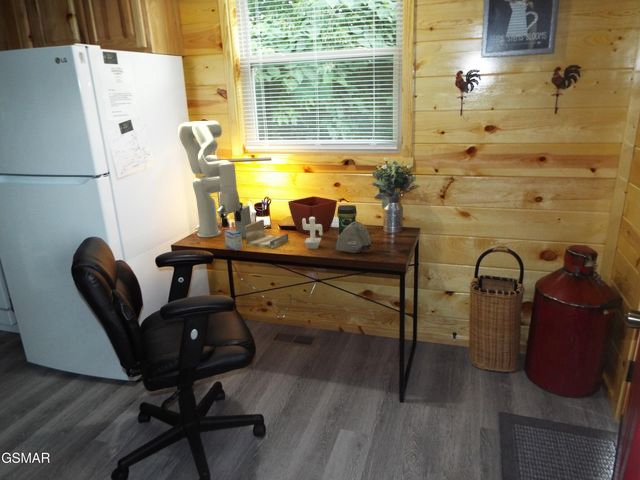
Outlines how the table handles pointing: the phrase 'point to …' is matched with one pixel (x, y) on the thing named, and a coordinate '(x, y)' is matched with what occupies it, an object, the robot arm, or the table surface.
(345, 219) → the coffee jar
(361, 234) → the decorative rock
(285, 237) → the grey angle bracket
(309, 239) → the figurine
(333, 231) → the table surface
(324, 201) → the plant pot
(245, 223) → the skincare box
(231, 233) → the medicine box
